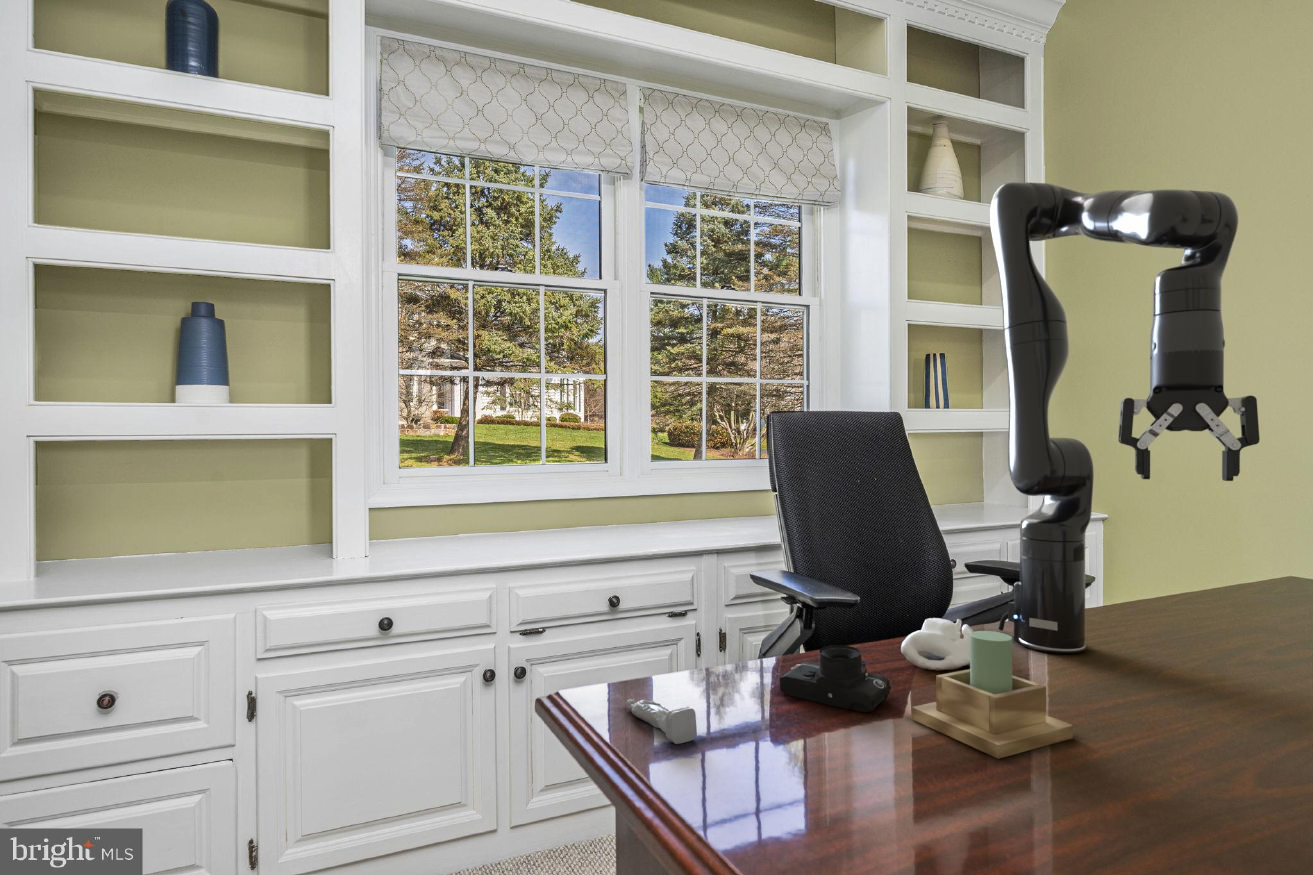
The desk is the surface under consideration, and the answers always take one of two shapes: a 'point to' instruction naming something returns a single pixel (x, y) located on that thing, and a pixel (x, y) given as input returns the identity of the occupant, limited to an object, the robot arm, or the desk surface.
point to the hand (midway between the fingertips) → (1185, 479)
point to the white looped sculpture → (938, 645)
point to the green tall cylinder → (991, 661)
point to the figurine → (667, 719)
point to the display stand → (992, 716)
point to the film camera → (837, 680)
